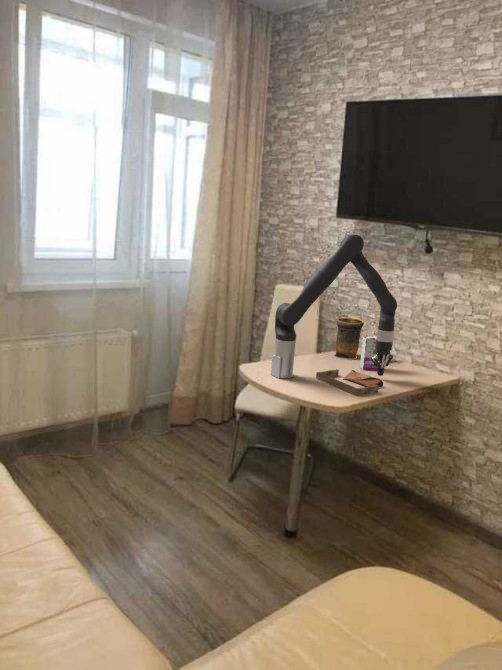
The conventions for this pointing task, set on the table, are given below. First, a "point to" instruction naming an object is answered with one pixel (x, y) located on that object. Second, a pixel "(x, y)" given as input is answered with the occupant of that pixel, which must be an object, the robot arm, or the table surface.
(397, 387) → the table surface
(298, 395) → the table surface
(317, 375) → the tray
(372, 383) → the sunglasses case
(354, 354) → the vessel
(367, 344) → the candy bar box
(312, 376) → the table surface
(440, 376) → the table surface
